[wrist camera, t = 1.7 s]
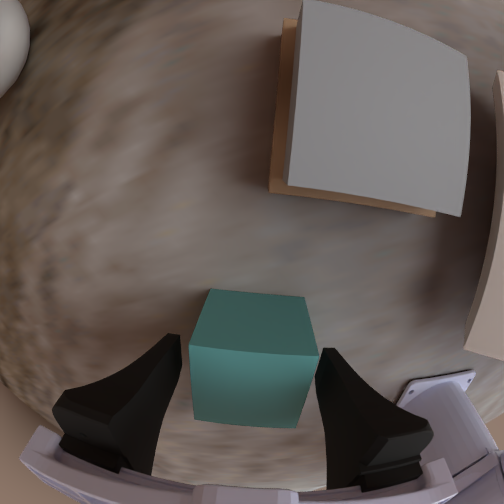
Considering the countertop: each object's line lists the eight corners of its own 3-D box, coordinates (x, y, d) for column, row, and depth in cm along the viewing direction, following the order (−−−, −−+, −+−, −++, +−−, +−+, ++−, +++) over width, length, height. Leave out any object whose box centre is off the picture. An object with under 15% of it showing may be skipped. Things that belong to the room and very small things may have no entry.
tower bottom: (411, 208, 13) (434, 217, 11) (267, 187, 13) (268, 192, 11) (420, 74, 11) (443, 63, 8) (280, 39, 11) (284, 18, 8)
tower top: (429, 205, 11) (460, 217, 8) (282, 179, 11) (287, 185, 8) (437, 68, 8) (466, 56, 6) (296, 26, 8) (303, -2, 6)
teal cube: (289, 365, 16) (295, 428, 11) (209, 358, 16) (194, 419, 12) (304, 296, 15) (319, 356, 10) (210, 288, 15) (188, 344, 10)
